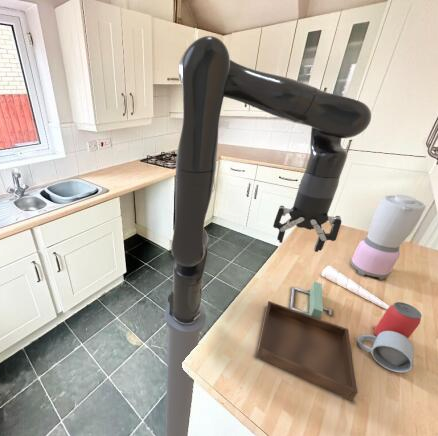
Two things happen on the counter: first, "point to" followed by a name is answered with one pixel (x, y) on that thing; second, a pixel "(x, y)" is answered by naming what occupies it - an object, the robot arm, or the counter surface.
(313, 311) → the hanger
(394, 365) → the ceramic mug
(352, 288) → the unicorn horn
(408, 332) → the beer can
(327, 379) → the tray
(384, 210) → the blender
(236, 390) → the counter surface
